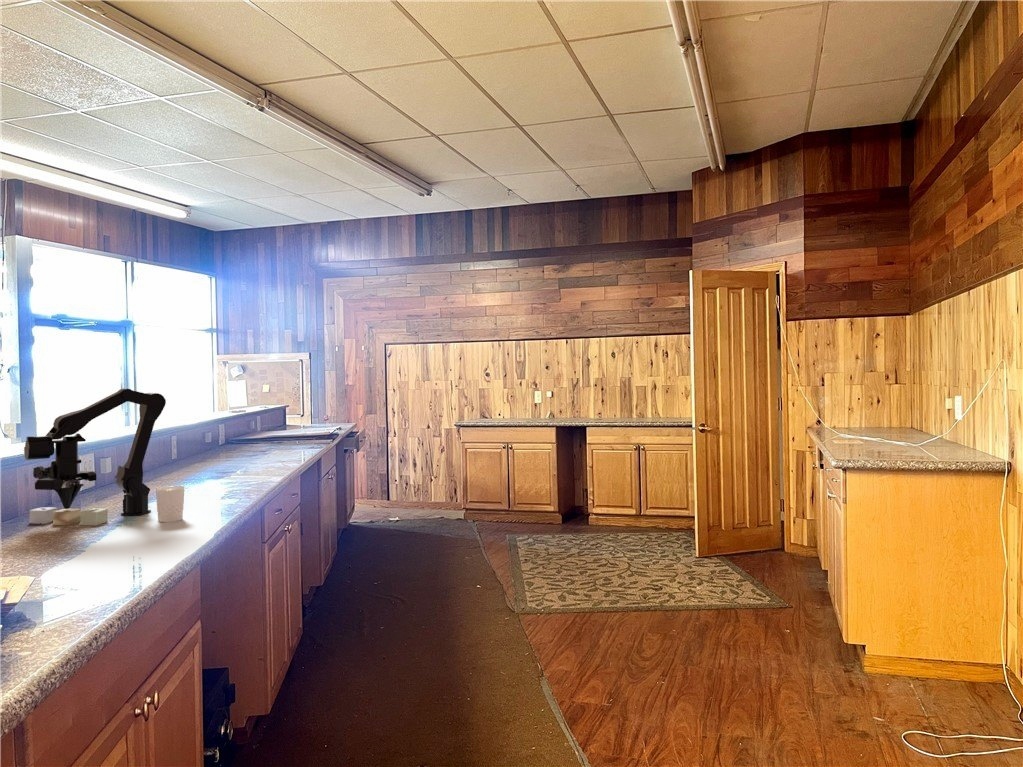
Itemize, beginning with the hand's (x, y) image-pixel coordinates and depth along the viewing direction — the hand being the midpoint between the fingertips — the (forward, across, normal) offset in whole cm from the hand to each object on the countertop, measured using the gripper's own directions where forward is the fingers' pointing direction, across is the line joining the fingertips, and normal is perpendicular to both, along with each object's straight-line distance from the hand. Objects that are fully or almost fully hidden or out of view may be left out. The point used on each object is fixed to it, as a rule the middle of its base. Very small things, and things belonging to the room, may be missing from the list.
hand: (66, 508), depth 210 cm
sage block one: (+4, -1, +8) cm, 9 cm away
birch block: (+4, 0, 0) cm, 4 cm away
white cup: (+4, -8, +28) cm, 29 cm away
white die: (+4, -1, -8) cm, 9 cm away
